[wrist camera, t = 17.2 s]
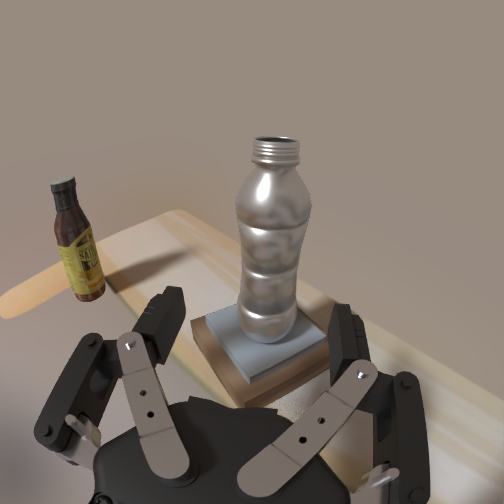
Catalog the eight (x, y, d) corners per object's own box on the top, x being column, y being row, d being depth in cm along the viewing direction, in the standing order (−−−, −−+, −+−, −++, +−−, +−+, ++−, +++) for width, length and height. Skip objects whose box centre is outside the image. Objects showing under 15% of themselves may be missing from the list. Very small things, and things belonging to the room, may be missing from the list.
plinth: (334, 363, 31) (344, 338, 29) (244, 416, 25) (244, 395, 23) (274, 306, 41) (277, 279, 38) (193, 339, 35) (188, 311, 32)
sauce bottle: (100, 304, 39) (66, 185, 29) (70, 303, 39) (33, 190, 28) (112, 280, 45) (87, 171, 34) (84, 280, 44) (56, 176, 34)
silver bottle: (226, 341, 29) (218, 142, 18) (248, 303, 34) (251, 132, 24) (285, 358, 27) (312, 150, 16) (299, 315, 32) (322, 139, 22)
